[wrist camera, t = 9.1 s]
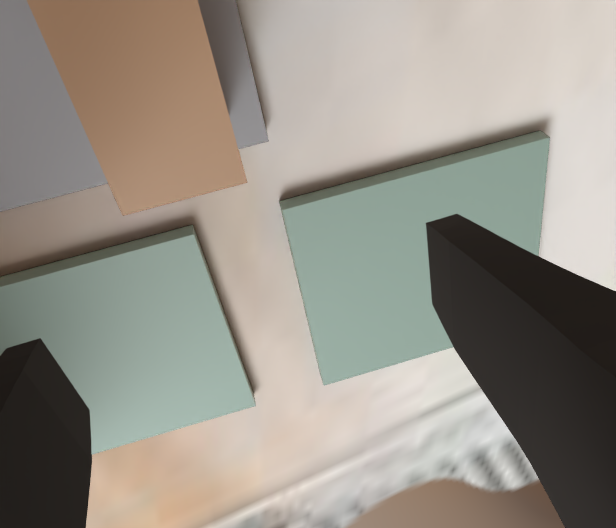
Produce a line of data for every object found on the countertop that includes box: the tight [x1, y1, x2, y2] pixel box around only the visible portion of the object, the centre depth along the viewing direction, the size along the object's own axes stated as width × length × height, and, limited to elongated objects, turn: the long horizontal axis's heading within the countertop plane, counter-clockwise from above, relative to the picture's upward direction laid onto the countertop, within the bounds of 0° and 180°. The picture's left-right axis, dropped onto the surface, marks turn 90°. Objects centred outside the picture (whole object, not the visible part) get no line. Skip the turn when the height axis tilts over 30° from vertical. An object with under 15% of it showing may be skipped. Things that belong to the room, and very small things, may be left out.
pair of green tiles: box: [0, 131, 550, 454], centre depth 22 cm, size 22×9×1 cm, turn 100°
